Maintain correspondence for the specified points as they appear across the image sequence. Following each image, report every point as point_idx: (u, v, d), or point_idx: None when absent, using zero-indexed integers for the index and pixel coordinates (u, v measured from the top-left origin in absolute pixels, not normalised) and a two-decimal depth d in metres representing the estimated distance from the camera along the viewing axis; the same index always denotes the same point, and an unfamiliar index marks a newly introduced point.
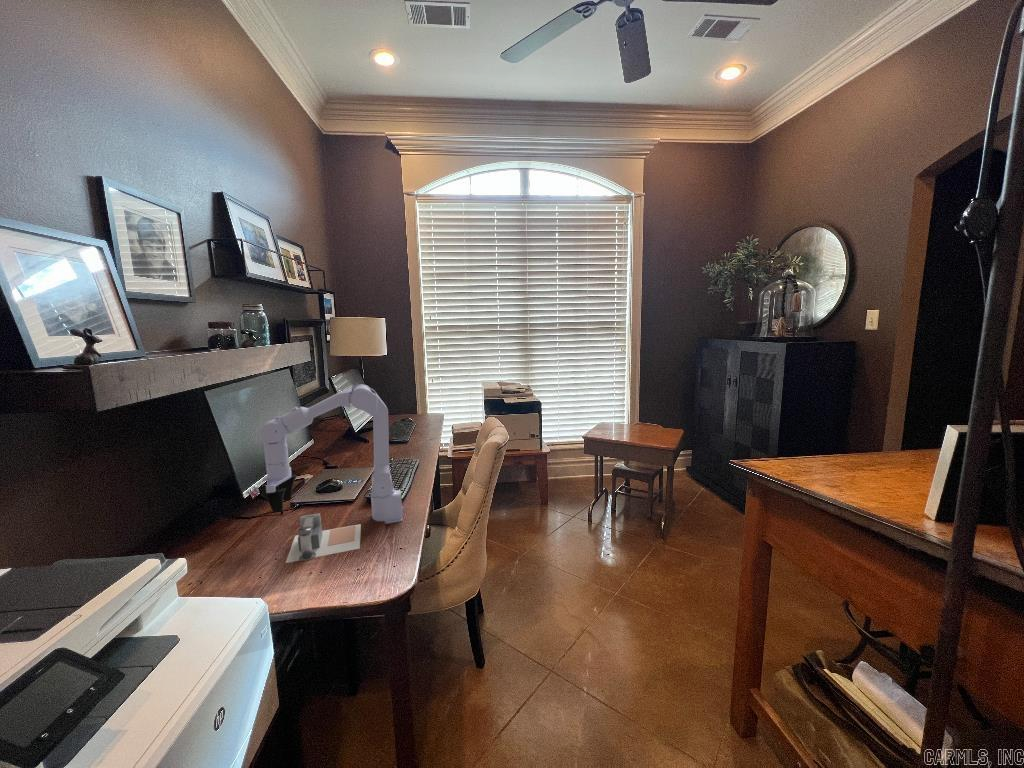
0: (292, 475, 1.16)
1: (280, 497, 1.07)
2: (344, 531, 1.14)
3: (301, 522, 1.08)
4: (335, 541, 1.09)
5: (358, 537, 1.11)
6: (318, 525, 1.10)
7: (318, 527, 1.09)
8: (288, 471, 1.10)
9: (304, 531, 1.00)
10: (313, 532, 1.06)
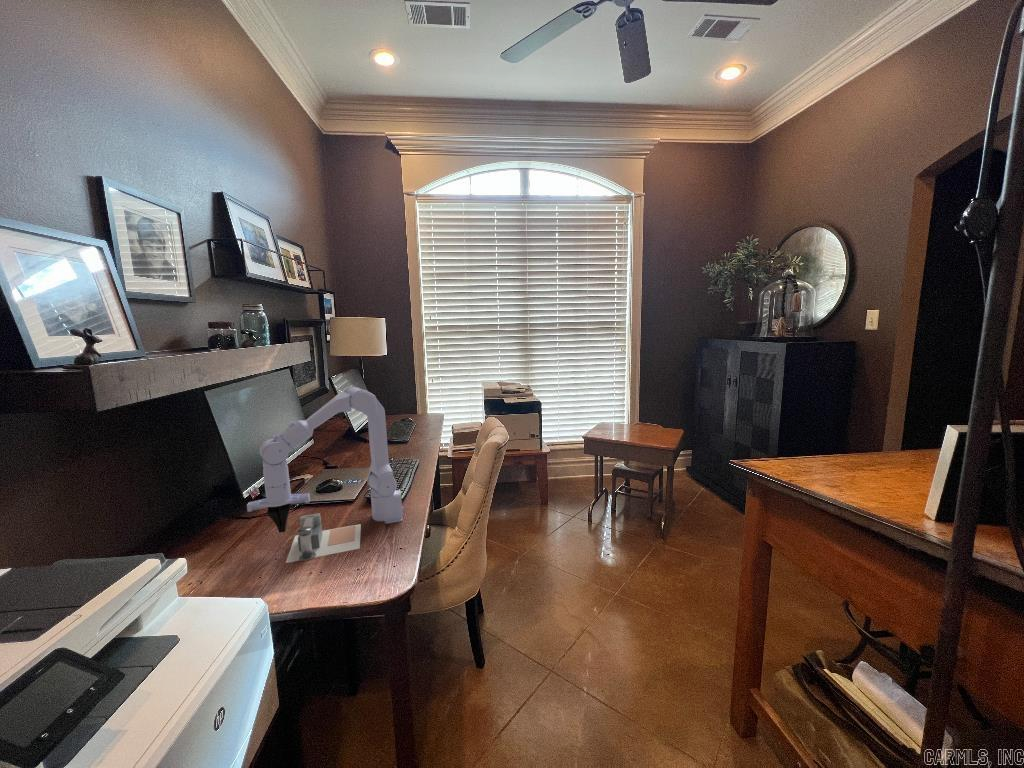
0: (285, 508, 1.03)
1: None
2: (344, 531, 1.14)
3: (301, 522, 1.08)
4: (335, 541, 1.09)
5: (358, 537, 1.11)
6: (318, 525, 1.10)
7: (318, 527, 1.09)
8: (273, 499, 1.01)
9: (304, 531, 1.00)
10: (313, 532, 1.06)
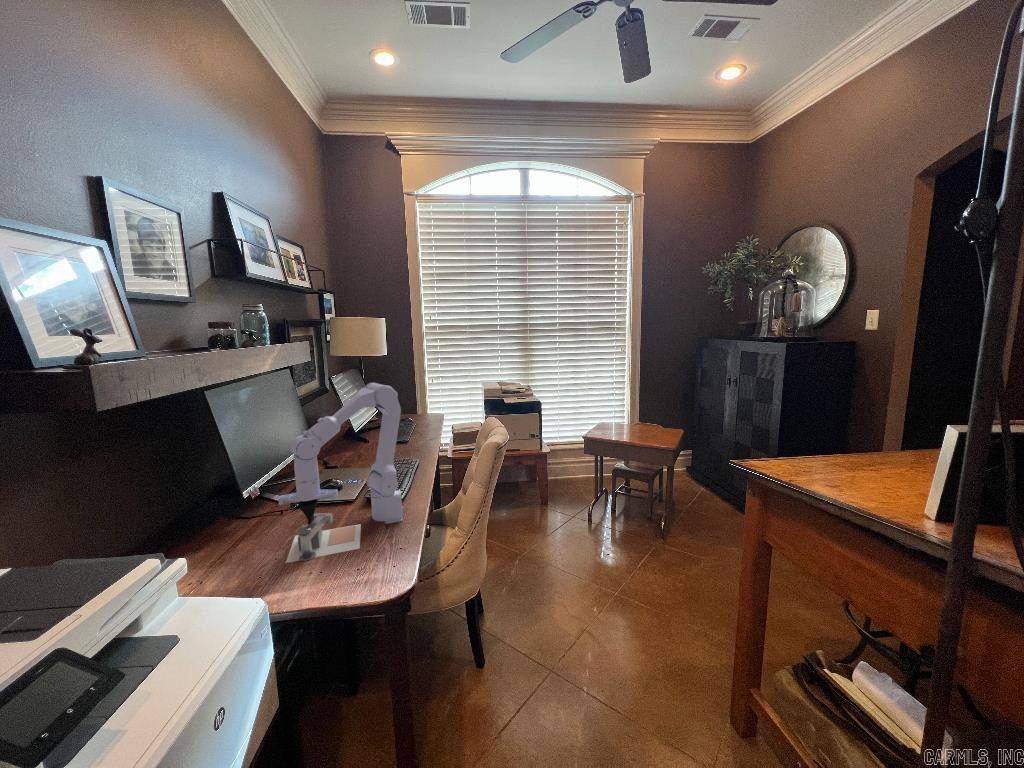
0: (312, 503, 1.05)
1: None
2: (344, 531, 1.14)
3: None
4: (335, 541, 1.09)
5: (358, 537, 1.11)
6: None
7: None
8: (303, 493, 1.03)
9: (303, 531, 1.00)
10: None
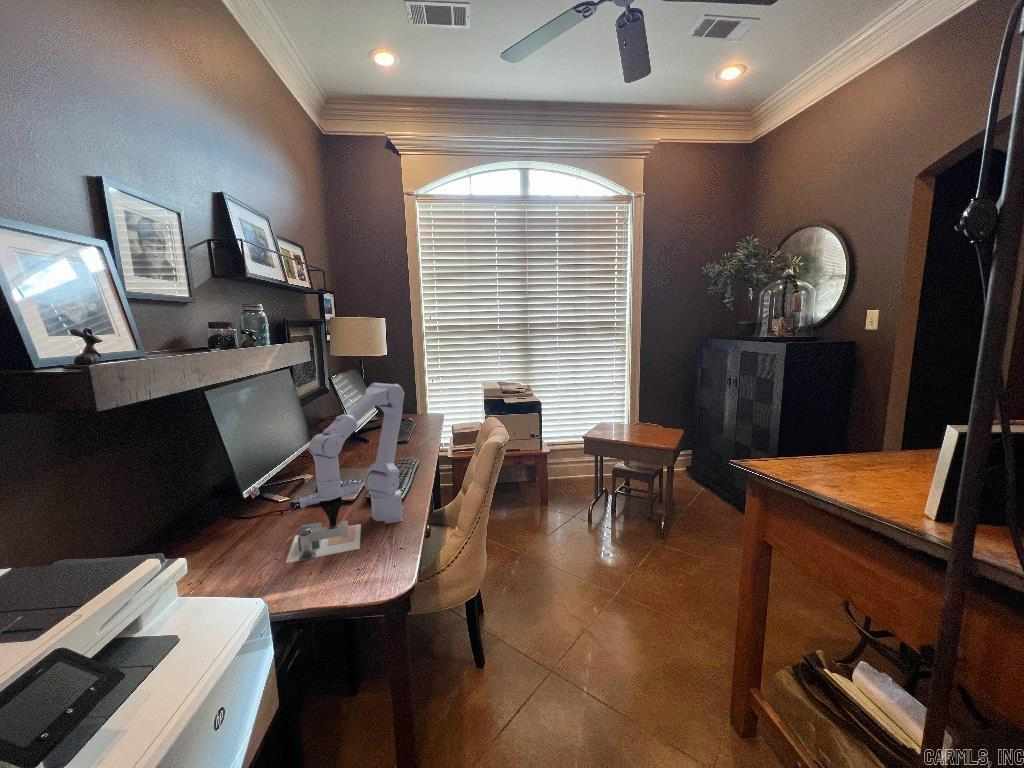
0: (338, 500, 1.04)
1: None
2: None
3: None
4: (335, 541, 1.09)
5: (358, 537, 1.11)
6: (318, 525, 1.10)
7: (318, 527, 1.09)
8: (328, 492, 1.02)
9: (300, 530, 1.00)
10: None
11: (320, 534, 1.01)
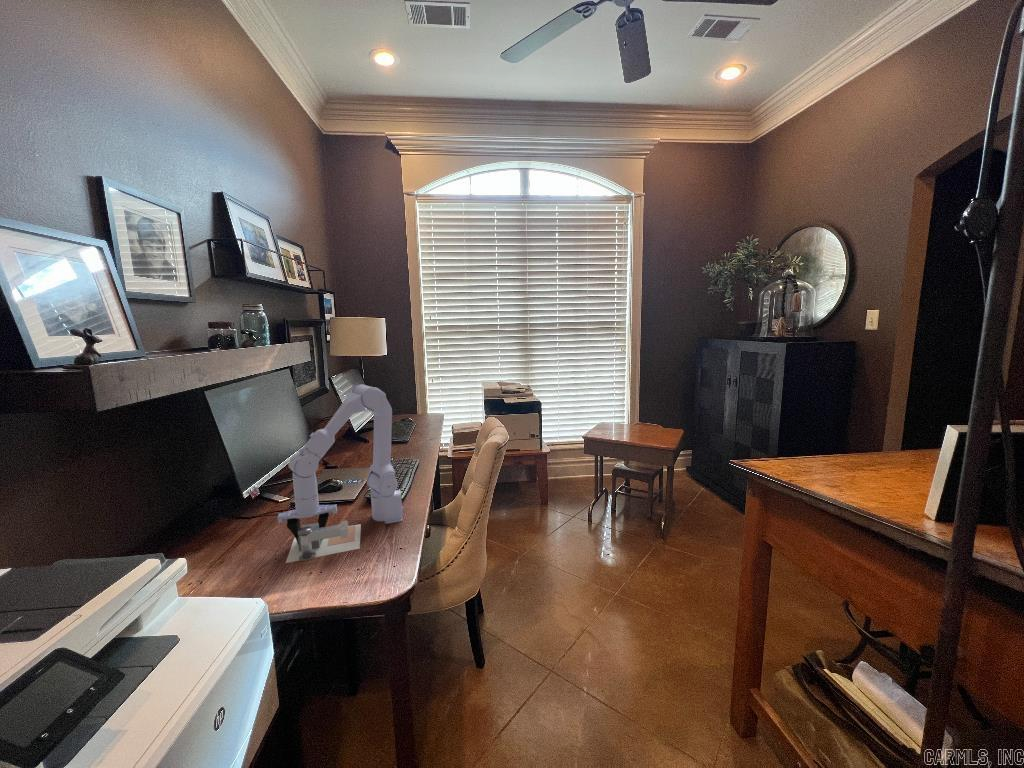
0: (324, 517, 1.07)
1: None
2: None
3: None
4: (335, 541, 1.09)
5: (358, 537, 1.11)
6: (318, 525, 1.10)
7: (318, 527, 1.09)
8: (303, 510, 1.04)
9: (300, 530, 1.00)
10: None
11: (320, 534, 1.01)
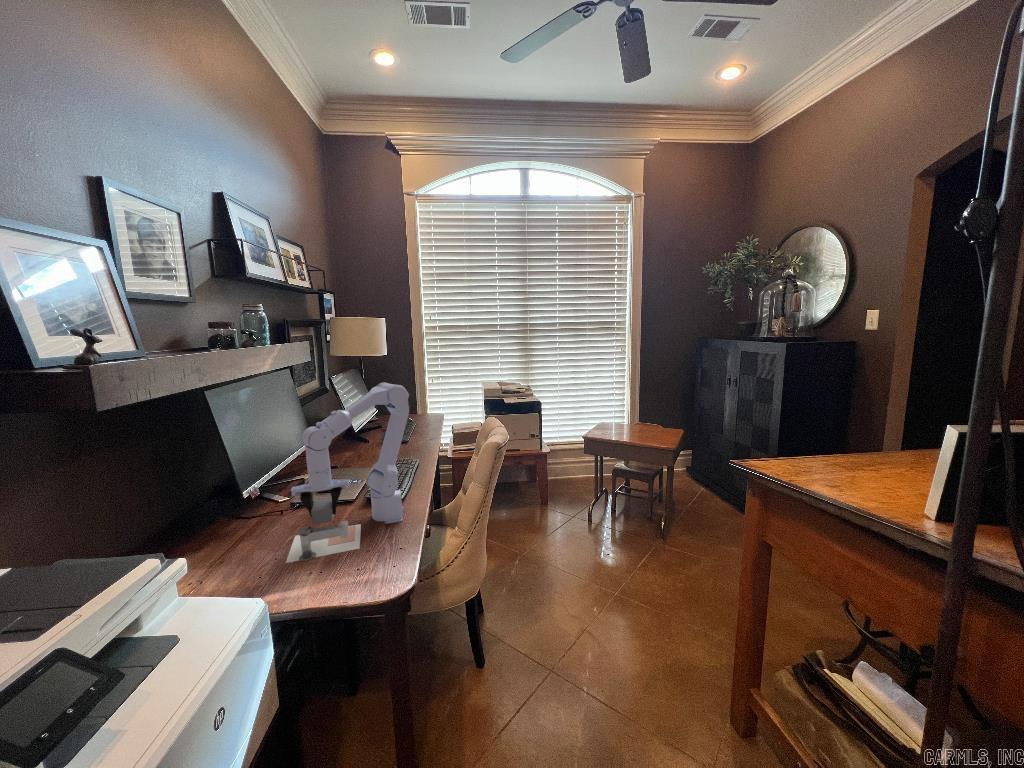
0: (336, 491, 1.08)
1: None
2: None
3: None
4: (335, 541, 1.09)
5: (358, 537, 1.11)
6: (330, 500, 1.11)
7: (331, 502, 1.10)
8: (316, 483, 1.05)
9: (300, 530, 1.00)
10: (326, 506, 1.07)
11: (320, 534, 1.01)
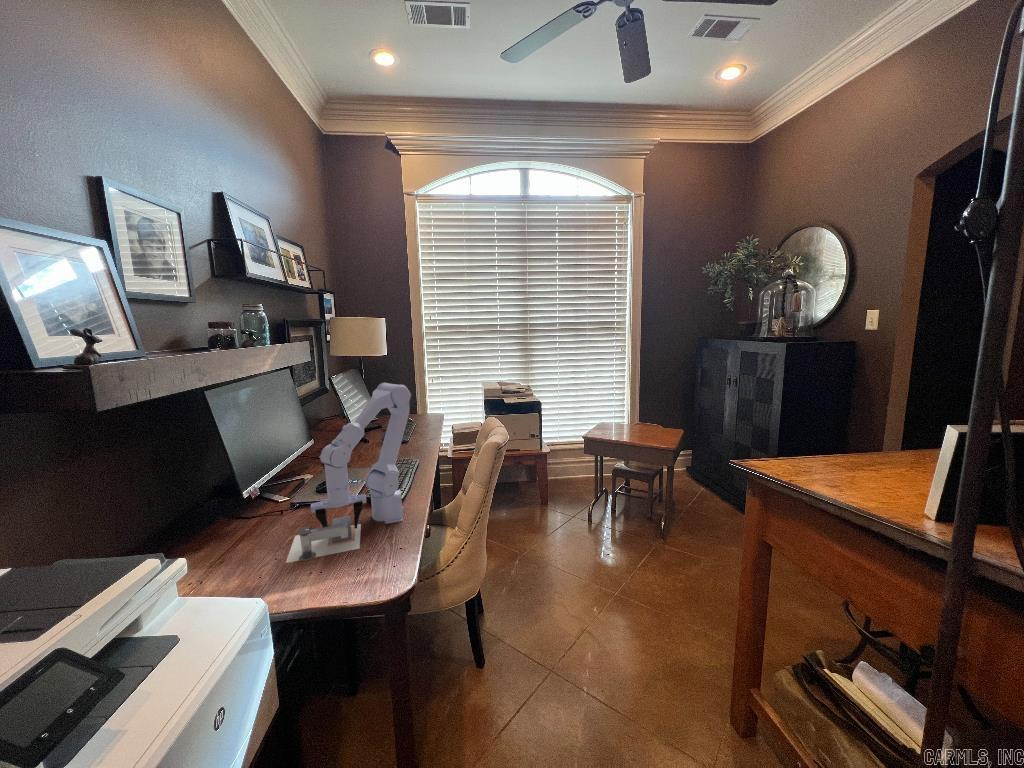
0: (358, 506, 1.11)
1: None
2: None
3: None
4: None
5: (358, 537, 1.11)
6: (348, 518, 1.14)
7: (349, 520, 1.13)
8: (336, 500, 1.07)
9: (300, 530, 1.00)
10: None
11: (320, 534, 1.01)
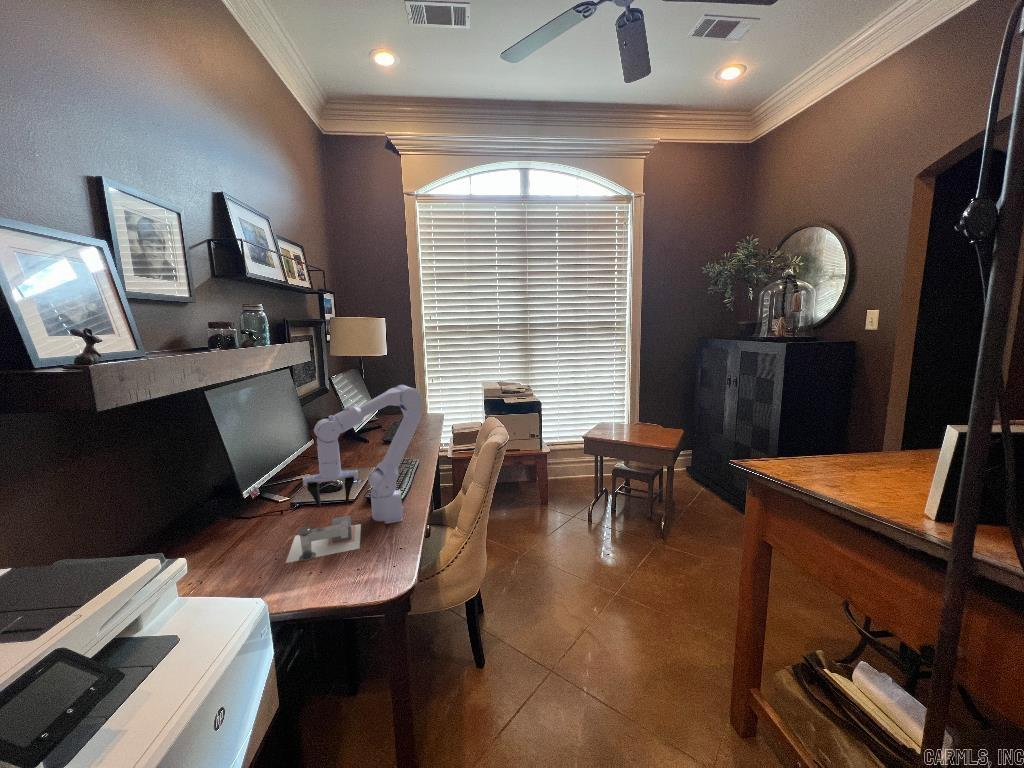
0: (349, 480, 1.13)
1: None
2: None
3: None
4: None
5: (358, 537, 1.11)
6: (348, 518, 1.14)
7: (349, 520, 1.13)
8: (327, 473, 1.09)
9: (300, 530, 1.00)
10: None
11: (320, 534, 1.01)
